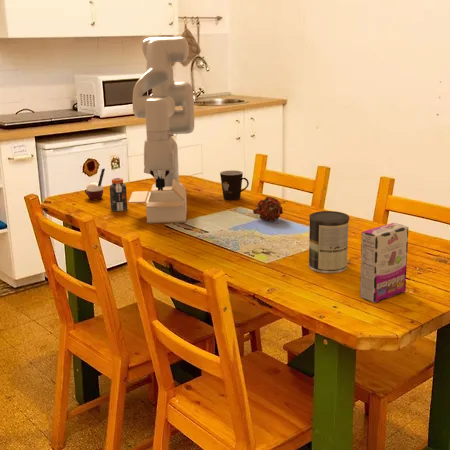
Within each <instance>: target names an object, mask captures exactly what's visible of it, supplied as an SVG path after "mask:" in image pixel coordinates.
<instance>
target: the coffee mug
mask: <svg viewBox="0 0 450 450" xmlns="http://www.w3.org/2000/svg"><path fill="white" fill-rule="evenodd" d="M243 174H244V173H243V171H240V170H233V169H231V170H223V171H220V172H219V176H220V182H221V183H220V184H221V190H222V195H223V196H222V198H223V200H224V201H228V202H229V201H238V200H240V199H241V196H242V195H241V194H242V192H243V191H245V190H246V189H247V188H248V187H249V184H250V183H249V180H248V179H247V178H246V177H243V176H244V175H243ZM243 180H245V181H246V186H245V187H244V188H242V186H243Z"/></svg>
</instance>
